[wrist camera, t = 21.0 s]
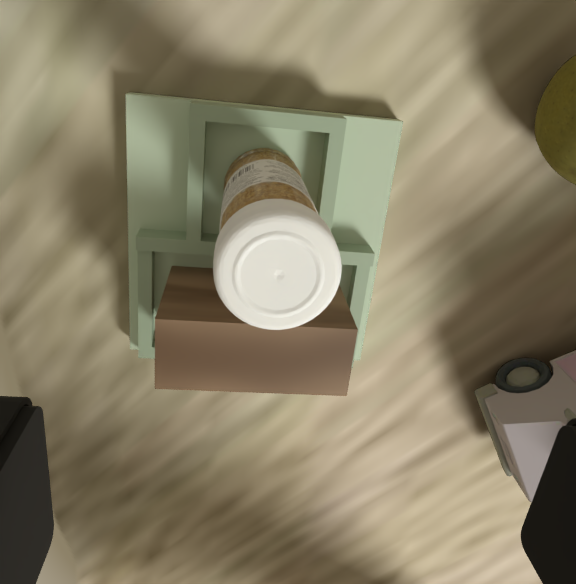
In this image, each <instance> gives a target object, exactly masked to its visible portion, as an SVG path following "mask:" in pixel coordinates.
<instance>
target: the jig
mask: <svg viewBox="0 0 576 584" xmlns="http://www.w3.org/2000/svg"><path fill="white" fill-rule="evenodd" d="M402 125H403V121H401V120H399V119H392V118H382V117H372V116H362V115H352V114H342V113H333V112H323V111H313V110H303V109H293V108H283V107H273V106H263V105H253V104H243V103H233V102H223V101H213V100H203V99H193V98H183V97H174V96H164V95H154V94H144V93H134V92H129V93H126V146H127V203H128V261H129V318H130V349H136V350H138V351H139V358H151V359H155V317H156V314H157V311H158V308H159V304H160V301H161V298H162V295H163V292H164V289H165V286H166V283H167V279H168V276H169V273H170V270H171V267H172V266H184V267H200V268H213V259H214V250H215V244H216V241H217V237H218V235H219V227H220V216H221V208H222V200H223V194H224V180H225V176H226V173H227V171H228V169H229V167H230V165H231V164H232V163H233V162H234V161H235V160H236V159H237V158H238V157H239V156H240V155H242V154H244V153H245V152H247V151H250V150H252V149H258V148H270V149H273V150H278V151H280V152H282V153H283V154H285V155H287V156H288V157H289V158H290V159H291V160H292V161H293V162H294V163H295V165H296V167H297V168H298V169H299V171H300V174H301V178H302V180H303V182H304V184H305V186H306V189H307V191H308V193H309V195H310V197H311V199H312V201H313V203H314V205H315V208H316V210H317V212H318V215H319V216H320V217H321V218H322V219H323V220H324V221H325V223H326V224H327V226H328V227H329V229H330V231H331V233H332V235H333V237H334V239H335V241H336V244H337V246H338V249H339V253H340V257H341V265H342V271H341V279H340V283H339V285H340V287H341V290H342V292H343V294H344V297H345V299H346V302H347V304H348V307H349V309H350V311H351V314H352V316H353V319H354V321H355V324H356V326H357V328H358V332H357V338H356V344H355V350H354V356H353V361H352V367H351V368H353V362H354V360H360V357H361V352H362V346H363V341H364V335H365V330H366V324H367V319H368V313H369V308H370V302H371V296H372V291H373V285H374V280H375V274H376V269H377V263H378V258H379V252H380V247H381V241H382V236H383V230H384V225H385V219H386V214H387V208H388V203H389V197H390V192H391V186H392V181H393V175H394V170H395V164H396V159H397V153H398V147H399V142H400V136H401V131H402Z"/></svg>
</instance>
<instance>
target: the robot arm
mask: <svg viewBox="0 0 576 584" xmlns="http://www.w3.org/2000/svg"><path fill="white" fill-rule="evenodd" d="M53 529H54V521H53V511H52V500H51V490H50V480H49V470H48V459H47V449H46V439H45V428H44V418H43V411H42V408H41V407H39V406H32V402H31V400H30V398H28V397H8V396H0V584H36V581H37V579H38V576H39V574H40V571H41V568H42V566H43V563H44V561H45V558H46V555H47V553H48V550H49V547H50V544H51V541H52V536H53ZM521 541H522V545H523V548H524V551H525V553H526V554H527V556H528V558H529V560H530V561H531V563H532V565H533V567H534V569H535V570H536V572H537V574H538V576H539V577H540V579H541V581H542V583H543V584H576V418H574V419H571V420H570V421H569V422H568V423H567V424H566V426H562V427H561V428H560V430H559V431H558V434H557V436H556V439H555V442H554V444H553V447H552V450H551V452H550V455H549V458H548V460H547V463H546V466H545V468H544V471H543V474H542V476H541V479H540V482H539V484H538V487H537V489H536V492H535V495H534V497H533V500H532V503H531V505H530V508H529V511H528V513H527V516H526V519H525V521H524V524H523V527H522V530H521Z"/></svg>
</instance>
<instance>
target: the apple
mask: <svg viewBox="0 0 576 584" xmlns="http://www.w3.org/2000/svg"><path fill="white" fill-rule="evenodd" d="M535 136H536V141H537V144H538V146H539V148H540V151H541V153H542V154H543V156H544V158H545V159H546V160H547V162H548V163H549V164H550V166H551V167H552V168H553V169H554V170H555V171H556V172H557V173H558V174H559V175H561V176H562V177H564V178H565V179H566V180H568V181H569V182H571V183H573V184H575V185H576V55H575V56H573V57H572V58H571V59H570V60H568V61H567V62H566V63H565V64H564V65H563V66H562V67H561V68H560V69H559V70H558V71H557V72H556V74H555V75H554V76H553V78H552V79H551V81H550V82H549V84H548V85H547V87H546V89H545V91H544V93H543V95H542V97H541V100H540V102H539V105H538V108H537V113H536V118H535Z"/></svg>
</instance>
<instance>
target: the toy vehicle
mask: <svg viewBox="0 0 576 584" xmlns="http://www.w3.org/2000/svg"><path fill="white" fill-rule="evenodd" d="M550 365H551V369H552V373H551V371H550V369H549V367H548V366H547V365H546V364H545V363H543V362H541V361H539V360H537V359H533V358H519V359H515V360H512V361H510V362H508V363H506V364H504V365H503V366H502V367H501V368H500V369H499V370H498V373H497V375H496V385H495V384H493V385H492V384H491V383H490V384H488V385H486V386H483V387H481V388H479V389H476V390H475V395H476V398H477V400H478V403H479V406H480V408H481V411H482V414H483V416H484V419H485V422H486V424H487V427H488V430H489V433H490V435H491V438H492V441H493V443H494V446H495V449H496V451H497V454H498V457H499V459H500V462H501V465H502V467H503V470H504V471H505V473H506V475H507V476H512V475H513V477H514V478H515V480H516V481H517V483H518V485H519V486H520V488H521V489H522V491H523V492H524V494H525V496H526V497H527V499H528V500H529V501H530V502H532V500H533V497H534V495H535V492H536V489H537V487H538V484H539V482H540V479H541V476H542V474H543V471H544V468H545V466H546V463H547V460H548V458H549V455H550V452H551V450H552V447H553V444H554V442H555V439H556V436H557V434H558V431H559V430H560V428H561V427H562V426H566V424H567V423H568V422H569V421H570V420H571V419H574V418H576V350H575V351H573V352H570V353H568V354H565V355H563V356H561V357H558V358H556V359H553V360H551V361H550ZM552 374H553V375H552Z"/></svg>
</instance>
